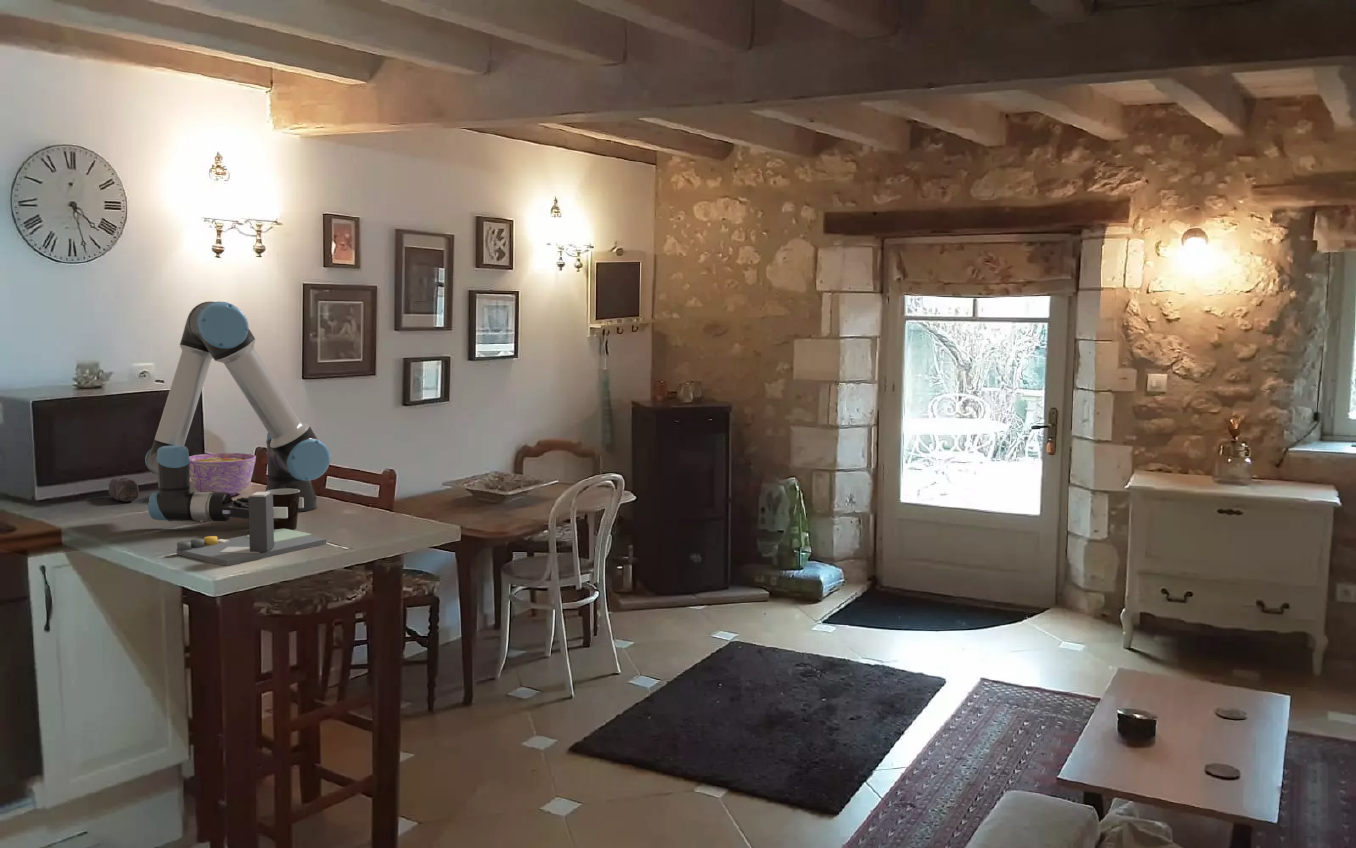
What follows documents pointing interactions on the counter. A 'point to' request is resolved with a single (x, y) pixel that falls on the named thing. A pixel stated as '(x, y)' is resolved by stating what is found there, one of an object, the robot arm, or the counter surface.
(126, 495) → the perforated stone tool
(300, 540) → the panel board
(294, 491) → the coffee mug
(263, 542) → the lever
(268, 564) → the counter surface
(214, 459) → the bowl of food
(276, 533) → the pad
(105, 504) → the counter surface
